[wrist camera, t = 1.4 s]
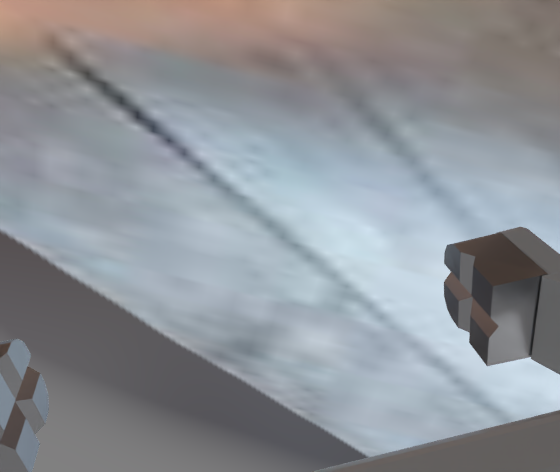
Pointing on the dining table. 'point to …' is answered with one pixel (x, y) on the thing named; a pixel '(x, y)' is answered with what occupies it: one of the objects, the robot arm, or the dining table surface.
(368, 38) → the dining table surface
